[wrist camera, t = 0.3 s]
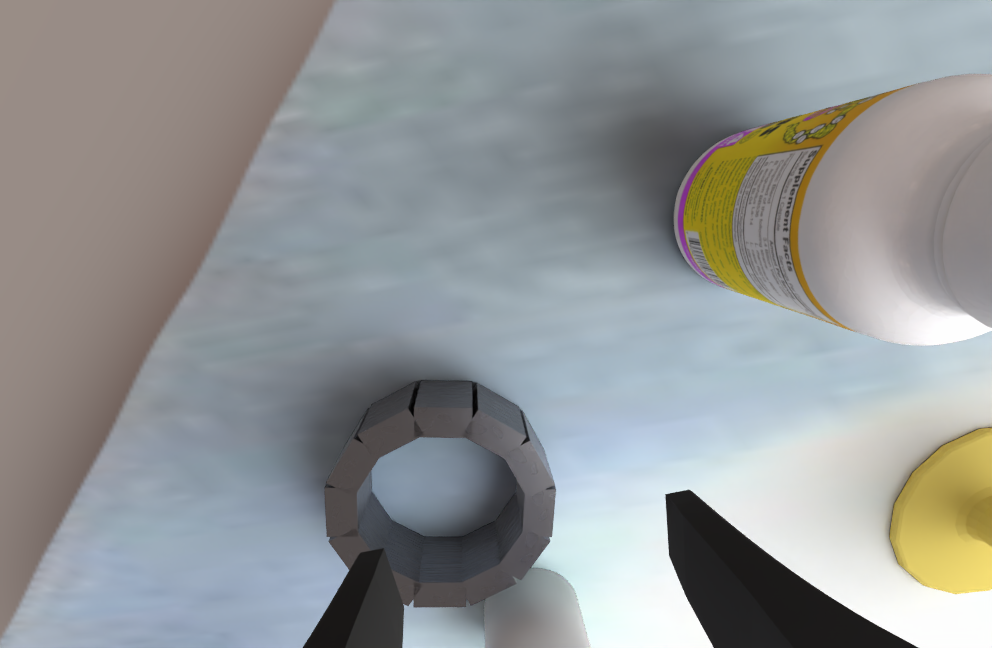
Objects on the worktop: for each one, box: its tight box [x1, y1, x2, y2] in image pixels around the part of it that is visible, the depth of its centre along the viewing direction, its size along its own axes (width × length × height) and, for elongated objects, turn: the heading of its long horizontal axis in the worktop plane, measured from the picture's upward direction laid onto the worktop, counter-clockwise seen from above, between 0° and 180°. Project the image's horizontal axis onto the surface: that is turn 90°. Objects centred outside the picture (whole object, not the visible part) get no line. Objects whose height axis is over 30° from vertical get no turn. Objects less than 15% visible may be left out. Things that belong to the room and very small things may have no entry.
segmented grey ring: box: [325, 380, 556, 607], centre depth 22 cm, size 10×10×3 cm
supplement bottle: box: [674, 74, 992, 345], centre depth 15 cm, size 7×7×13 cm
